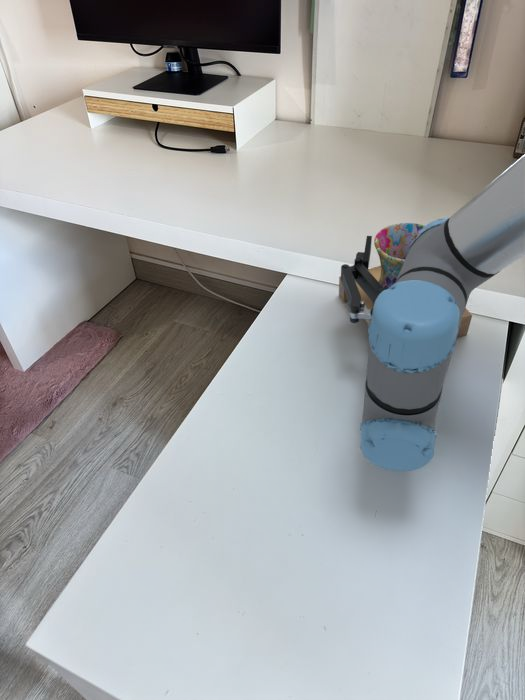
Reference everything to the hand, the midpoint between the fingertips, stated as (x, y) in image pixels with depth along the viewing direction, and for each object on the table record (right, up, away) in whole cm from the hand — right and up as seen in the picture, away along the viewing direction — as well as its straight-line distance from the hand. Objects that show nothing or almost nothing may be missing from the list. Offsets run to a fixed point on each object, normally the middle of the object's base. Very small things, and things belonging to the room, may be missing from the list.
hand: (407, 245), depth 76 cm
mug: (0, -7, +2) cm, 8 cm away
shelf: (0, -10, +5) cm, 11 cm away
